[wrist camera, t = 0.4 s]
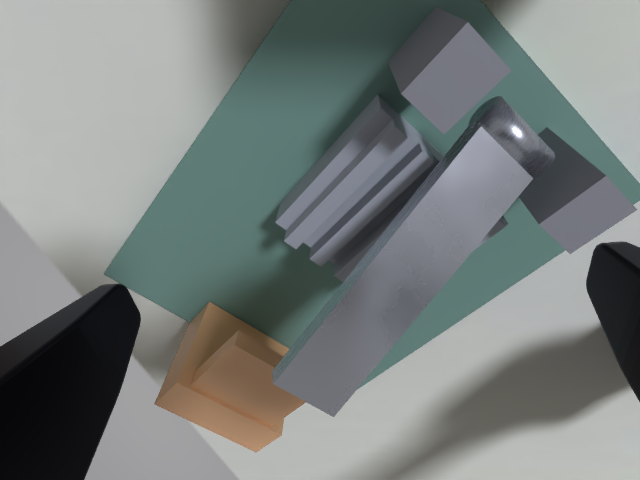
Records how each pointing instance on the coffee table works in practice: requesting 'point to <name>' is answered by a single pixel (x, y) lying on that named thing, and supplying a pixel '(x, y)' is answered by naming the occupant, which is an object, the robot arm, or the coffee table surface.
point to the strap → (414, 256)
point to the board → (361, 168)
